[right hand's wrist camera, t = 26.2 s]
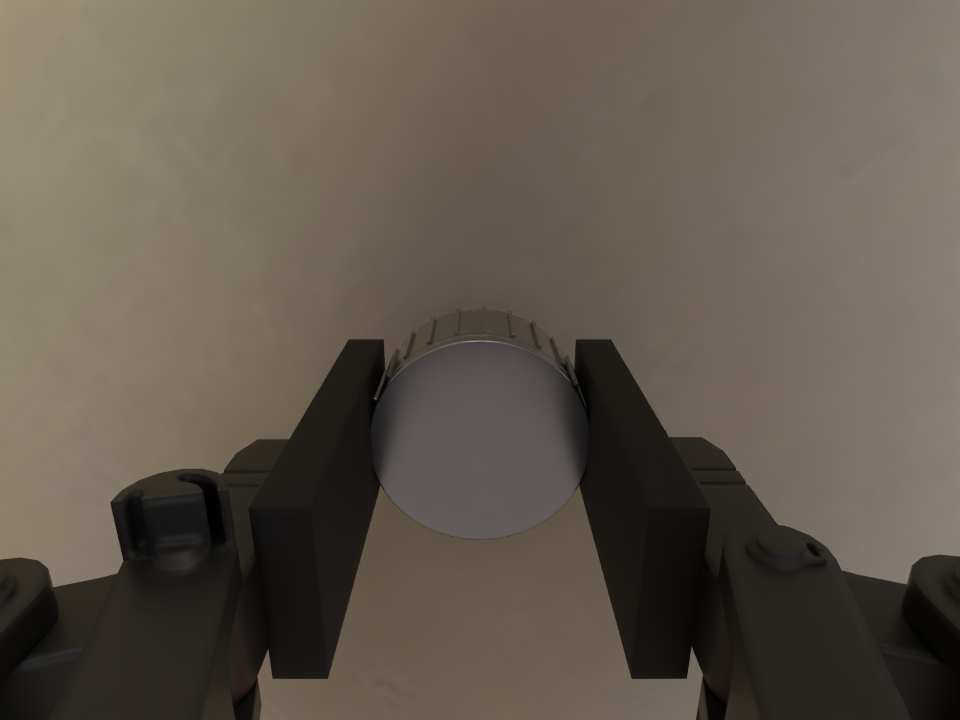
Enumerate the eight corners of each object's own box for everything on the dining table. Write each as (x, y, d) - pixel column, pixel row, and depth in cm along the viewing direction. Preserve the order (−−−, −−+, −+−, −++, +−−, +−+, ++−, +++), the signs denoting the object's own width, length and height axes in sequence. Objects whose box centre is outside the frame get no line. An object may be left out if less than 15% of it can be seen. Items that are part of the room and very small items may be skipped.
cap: (481, 262, 13) (482, 287, 11) (619, 402, 14) (642, 447, 12) (339, 399, 14) (317, 443, 12) (478, 520, 16) (478, 579, 14)
